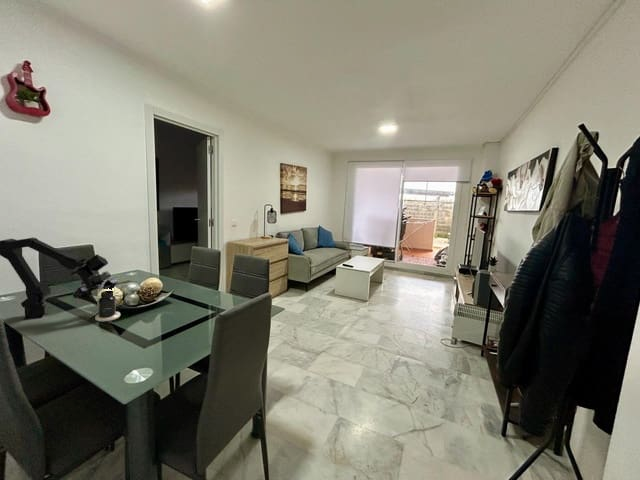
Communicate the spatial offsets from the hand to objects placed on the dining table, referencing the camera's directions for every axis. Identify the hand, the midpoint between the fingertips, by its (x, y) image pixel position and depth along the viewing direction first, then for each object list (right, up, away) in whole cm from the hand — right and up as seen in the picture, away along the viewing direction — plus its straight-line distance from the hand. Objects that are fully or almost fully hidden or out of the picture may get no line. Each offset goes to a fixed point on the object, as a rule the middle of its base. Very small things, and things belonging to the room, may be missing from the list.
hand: (106, 301), depth 135 cm
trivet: (0, -8, +1) cm, 8 cm away
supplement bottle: (0, -7, +1) cm, 8 cm away
